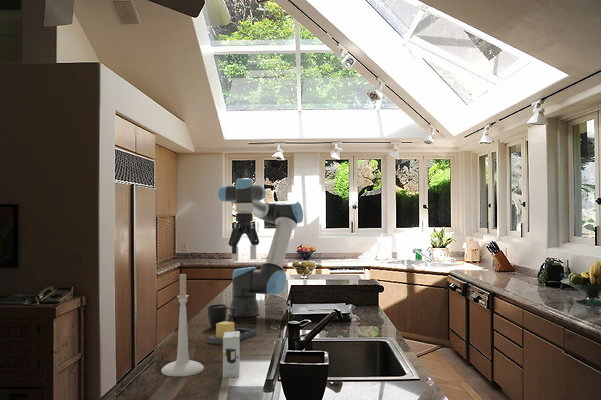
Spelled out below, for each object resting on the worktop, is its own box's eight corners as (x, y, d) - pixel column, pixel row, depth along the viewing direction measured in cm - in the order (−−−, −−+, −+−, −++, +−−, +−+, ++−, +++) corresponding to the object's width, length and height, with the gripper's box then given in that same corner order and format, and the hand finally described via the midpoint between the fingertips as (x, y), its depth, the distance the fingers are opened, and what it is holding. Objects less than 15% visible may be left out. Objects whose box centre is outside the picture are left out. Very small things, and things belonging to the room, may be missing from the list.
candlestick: (168, 364, 164) (168, 271, 166) (207, 364, 164) (207, 270, 165) (155, 376, 152) (156, 275, 153) (198, 376, 151) (198, 274, 153)
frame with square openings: (239, 332, 211) (239, 327, 211) (256, 334, 207) (256, 329, 207) (207, 342, 194) (207, 337, 194) (225, 345, 190) (225, 339, 190)
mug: (232, 329, 217) (232, 307, 218) (205, 329, 219) (205, 307, 219) (237, 326, 226) (237, 304, 226) (210, 325, 227) (210, 304, 227)
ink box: (224, 369, 158) (224, 331, 159) (240, 368, 159) (239, 330, 159) (222, 377, 150) (222, 337, 150) (239, 377, 150) (238, 336, 151)
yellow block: (223, 339, 200) (223, 321, 200) (234, 340, 198) (234, 322, 198) (216, 342, 195) (216, 323, 196) (226, 343, 193) (226, 324, 193)
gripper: (253, 213, 242) (253, 258, 241) (220, 212, 220) (220, 262, 219) (266, 213, 238) (266, 258, 237) (234, 212, 217) (234, 262, 216)
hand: (244, 260), depth 228 cm, fingers open, 13 cm apart
